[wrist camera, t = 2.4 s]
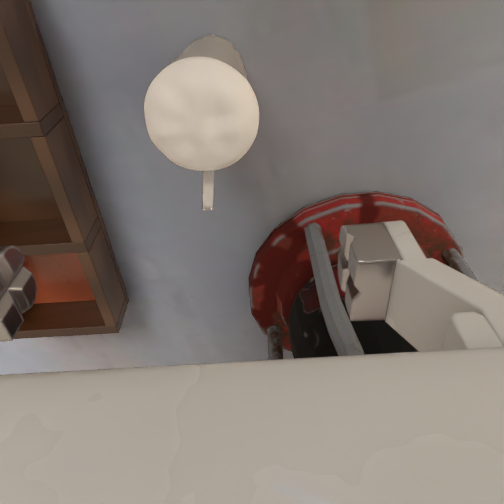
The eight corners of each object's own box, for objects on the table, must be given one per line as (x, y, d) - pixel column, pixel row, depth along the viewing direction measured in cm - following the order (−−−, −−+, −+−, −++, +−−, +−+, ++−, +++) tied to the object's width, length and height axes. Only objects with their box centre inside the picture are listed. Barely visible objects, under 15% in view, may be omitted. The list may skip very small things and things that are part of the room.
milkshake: (179, 123, 25) (151, 212, 17) (165, 22, 22) (121, 74, 14) (255, 119, 25) (263, 207, 17) (252, 18, 22) (259, 68, 14)
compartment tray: (-171, -54, 19) (-239, -51, 17) (7, -67, 19) (-32, -67, 17) (26, 306, 34) (7, 339, 31) (129, 300, 34) (119, 333, 31)
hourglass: (416, 145, 26) (972, 817, 6) (479, 301, 35) (800, 795, 15) (207, 256, 31) (150, 826, 11) (307, 368, 40) (374, 806, 20)
